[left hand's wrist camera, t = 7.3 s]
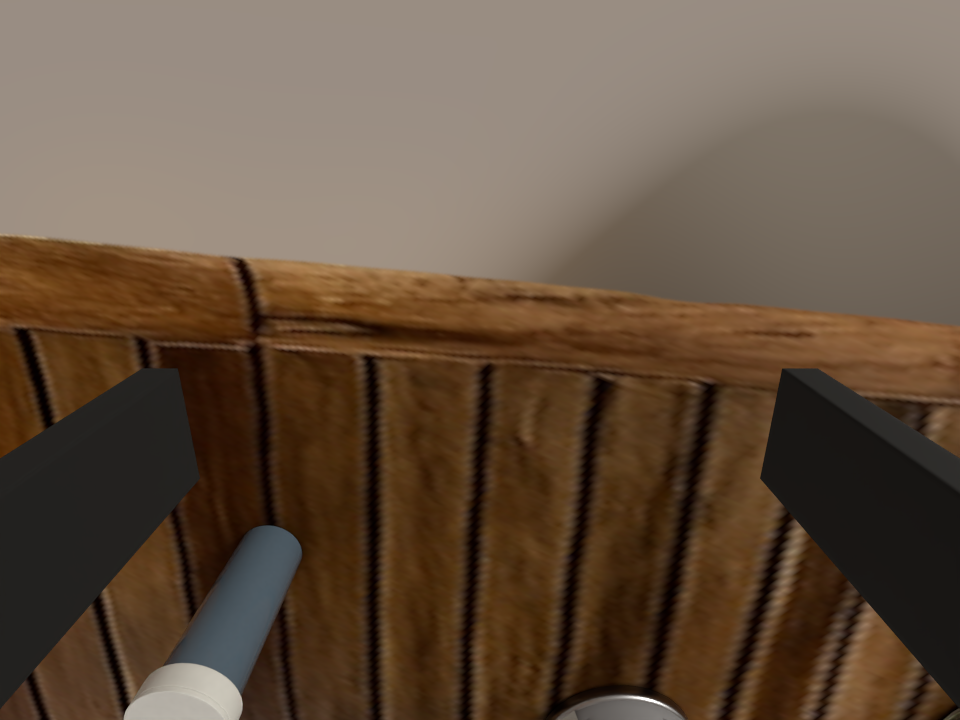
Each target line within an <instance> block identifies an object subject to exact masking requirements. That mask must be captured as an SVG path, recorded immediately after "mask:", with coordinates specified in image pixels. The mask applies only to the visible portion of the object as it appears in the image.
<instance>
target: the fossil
mask: <svg viewBox="0 0 960 720" xmlns="http://www.w3.org/2000/svg"><path fill="white" fill-rule="evenodd" d="M943 720H960V708H959V709H957V710H955V711H954V712H952V713H951V714H950V715H949V716H947V717H946V718H945V719H943Z"/></svg>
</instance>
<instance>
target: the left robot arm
mask: <svg viewBox="0 0 960 720" xmlns="http://www.w3.org/2000/svg"><path fill="white" fill-rule="evenodd" d="M199 479H200V477H199V472H198V467H197V462H196V457H195V452H194V447H193V442H192V437H191V432H190V427H189V422H188V418H187V413H186V408H185V403H184V398H183V393H182V388H181V383H180V378H179V373H178V369H141V370H139V371H138V372H136V373H135V374H133V375H131V376H130V377H128V378H127V379H125V380H124V381H122V382H120V383H119V384H117V385H116V386H114V387H112V388H111V389H109V390H108V391H106V392H105V393H103V394H101V395H100V396H98V397H97V398H95V399H94V400H92V401H90V402H89V403H87V404H86V405H84V406H82V407H81V408H79V409H78V410H76V411H75V412H73V413H71V414H70V415H68V416H67V417H65V418H63V419H62V420H60V421H59V422H57V423H56V424H54V425H52V426H51V427H49V428H48V429H46V430H45V431H43V432H41V433H40V434H38V435H37V436H35V437H33V438H32V439H30V440H29V441H27V442H26V443H24V444H22V445H21V446H19V447H18V448H16V449H14V450H13V451H11V452H10V453H8V454H7V455H5V456H3V457H2V458H0V708H1V707H2V706H3V705H4V704H5V703H6V701H7V700H8V699H9V698H10V697H11V696H12V695H13V693H14V692H15V691H16V690H17V689H18V688H19V686H20V685H21V684H22V683H23V682H24V681H25V680H26V678H27V677H28V676H29V675H30V674H31V673H32V671H33V670H34V669H35V668H36V667H37V666H38V665H39V663H40V662H41V661H42V660H43V659H44V658H45V656H46V655H47V654H48V653H49V652H50V651H51V650H52V648H53V647H54V646H55V645H56V644H57V643H58V641H59V640H60V639H61V638H62V637H63V636H64V635H65V633H66V632H67V631H68V630H69V629H70V628H71V626H72V625H73V624H74V623H75V622H76V621H77V620H78V618H79V617H80V616H81V615H82V614H83V613H84V611H85V610H86V609H87V608H88V607H89V606H90V605H91V603H92V602H93V601H94V600H95V599H96V598H97V596H98V595H99V594H100V593H101V592H102V591H103V590H104V588H105V587H106V586H107V585H108V584H109V583H110V581H111V580H112V579H113V578H114V577H115V576H116V575H117V573H118V572H119V571H120V570H121V569H122V568H123V566H124V565H125V564H126V563H127V562H128V561H129V560H130V558H131V557H132V556H133V555H134V554H135V553H136V551H137V550H138V549H139V548H140V547H141V546H142V545H143V543H144V542H145V541H146V540H147V539H148V538H149V536H150V535H151V534H152V533H153V532H154V531H155V530H156V528H157V527H158V526H159V525H160V524H161V523H162V521H163V520H164V519H165V518H166V517H167V516H168V515H169V513H170V512H171V511H172V510H173V509H174V508H175V506H176V505H177V504H178V503H179V502H180V501H181V500H182V498H183V497H184V496H185V495H186V494H187V493H188V491H189V490H190V489H191V488H192V487H193V486H194V485H195V483H196V482H197V481H198V480H199ZM760 479H761V480H762V481H763V482H764V483H765V485H766V486H767V487H768V488H769V489H770V490H771V491H772V493H773V494H774V495H775V496H776V497H777V498H778V500H779V501H780V502H781V503H782V504H783V505H784V506H785V508H786V509H787V510H788V511H789V512H790V513H791V515H792V516H793V517H794V518H795V519H796V520H797V521H798V523H799V524H800V525H801V526H802V527H803V528H804V530H805V531H806V532H807V533H808V534H809V535H810V536H811V538H812V539H813V540H814V541H815V542H816V543H817V545H818V546H819V547H820V548H821V549H822V550H823V551H824V553H825V554H826V555H827V556H828V557H829V558H830V560H831V561H832V562H833V563H834V564H835V565H836V566H837V568H838V569H839V570H840V571H841V572H842V573H843V575H844V576H845V577H846V578H847V579H848V580H849V581H850V583H851V584H852V585H853V586H854V587H855V588H856V590H857V591H858V592H859V593H860V594H861V595H862V596H863V598H864V599H865V600H866V601H867V602H868V603H869V605H870V606H871V607H872V608H873V609H874V610H875V611H876V613H877V614H878V615H879V616H880V617H881V618H882V620H883V621H884V622H885V623H886V624H887V625H888V626H889V628H890V629H891V630H892V631H893V632H894V633H895V635H896V636H897V637H898V638H899V639H900V640H901V641H902V643H903V644H904V645H905V646H906V647H907V648H908V650H909V651H910V652H911V653H912V654H913V655H914V656H915V658H916V659H917V660H918V661H919V662H920V663H921V665H922V666H923V667H924V668H925V669H926V670H927V671H928V673H929V674H930V675H931V676H932V677H933V678H934V680H935V681H936V682H937V683H938V684H939V685H940V686H941V688H942V689H943V690H944V691H945V692H946V693H947V695H948V696H949V697H950V698H951V699H952V700H953V701H954V703H955V704H956V705H957V706H958V707H959V708H960V458H958V457H957V456H955V455H953V454H952V453H950V452H949V451H947V450H946V449H944V448H942V447H941V446H939V445H938V444H936V443H934V442H933V441H931V440H930V439H928V438H927V437H925V436H923V435H922V434H920V433H919V432H917V431H915V430H914V429H912V428H911V427H909V426H908V425H906V424H904V423H903V422H901V421H900V420H898V419H897V418H895V417H893V416H892V415H890V414H889V413H887V412H885V411H884V410H882V409H881V408H879V407H878V406H876V405H874V404H873V403H871V402H870V401H868V400H866V399H865V398H863V397H862V396H860V395H859V394H857V393H855V392H854V391H852V390H851V389H849V388H848V387H846V386H844V385H843V384H841V383H840V382H838V381H836V380H835V379H833V378H832V377H830V376H829V375H827V374H825V373H824V372H822V371H821V370H819V369H782V373H781V378H780V383H779V388H778V393H777V398H776V403H775V408H774V413H773V418H772V422H771V427H770V432H769V437H768V442H767V447H766V452H765V457H764V462H763V467H762V472H761V477H760ZM545 720H688V719H687V717H686V715H685V714H684V712H683V711H682V709H681V708H680V707H679V706H678V705H677V704H676V703H675V702H673V701H672V700H670V699H669V698H667V697H666V696H664V695H662V694H660V693H658V692H655V691H652V690H649V689H645V688H641V687H635V686H621V685H620V686H606V687H600V688H595V689H591V690H588V691H585V692H582V693H580V694H577V695H575V696H573V697H571V698H569V699H567V700H566V701H564V702H563V703H561V704H560V705H559V706H557V707H556V708H555V709H554V710H553V711H552V712H551V713H550V714H549V715H548V717H547V718H546V719H545Z"/></svg>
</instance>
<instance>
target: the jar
mask: <svg viewBox="0 0 960 720" xmlns="http://www.w3.org/2000/svg"><path fill="white" fill-rule="evenodd" d="M301 559H302V549H301V546H300V544H299V542H298V540H297V539H296V538H295V537H294V536H293V535H292V534H291V533H290V532H288V531H287V530H285V529H282V528H280V527H276V526H270V525H265V526H258V527H255V528H253V529H251V530H250V531H248V532H247V533H246V534H245V535H244V536H243V538H242V539H241V541H240V543H239V544H238V546H237V547H236V549H235V551H234V552H233V554H232V555H231V557H230V559H229V560H228V562H227V563H226V565H225V567H224V568H223V570H222V572H221V573H220V575H219V576H218V578H217V580H216V581H215V583H214V584H213V586H212V588H211V589H210V591H209V592H208V594H207V596H206V597H205V599H204V601H203V602H202V604H201V605H200V607H199V609H198V610H197V612H196V613H195V615H194V617H193V618H192V620H191V621H190V623H189V625H188V626H187V628H186V630H185V631H184V633H183V634H182V636H181V638H180V639H179V641H178V642H177V644H176V646H175V647H174V649H173V650H172V652H171V654H170V655H169V657H168V659H167V660H166V662H165V663H164V665H163V666H166V665H170V664H175V663H192V664H198V665H202V666H206V667H209V668H211V669H213V670H216V671H217V672H219V673H221V674H222V675H224V676H225V677H227V678H228V679H229V680H230V681H231V682H232V683H233V684H234V685H235V686H236V688H237V689H238V691H239V693H240V695H242V693H243V691H244V689H245V686H246V684H247V682H248V680H249V677H250V675H251V673H252V670H253V668H254V666H255V664H256V661H257V659H258V657H259V655H260V652H261V650H262V648H263V646H264V643H265V641H266V639H267V636H268V634H269V632H270V630H271V627H272V625H273V623H274V621H275V618H276V616H277V614H278V612H279V609H280V607H281V605H282V602H283V600H284V598H285V596H286V593H287V591H288V589H289V587H290V584H291V582H292V580H293V578H294V575H295V573H296V571H297V569H298V566H299V564H300V562H301Z"/></svg>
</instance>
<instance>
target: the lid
mask: <svg viewBox="0 0 960 720" xmlns="http://www.w3.org/2000/svg"><path fill="white" fill-rule="evenodd" d="M241 713H242V698H241V695H240V693H239V691H238V689H237V688H236V686H235V685H234V684H233V683H232V682H231V681H230V680H229V679H228V678H227V677H225V676H224V675H222V674H221V673H219V672H217V671H216V670H213V669H211V668H209V667H206V666H202V665H198V664H192V663H175V664H170V665H166V666H163V667H161V668H159V669H157V670H155V671H154V672H152V673H151V674H150V675H149V676H148V677H147V678H146V680H145V681H144V683H143V685H142V686H141V688H140V689H139V691H138V692H137V694H136V696H135V697H134V699H133V700H132V702H131V703H130V705H129V707H128V708H127V710H126V712H125V715H124V720H239V718H240V715H241Z"/></svg>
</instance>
